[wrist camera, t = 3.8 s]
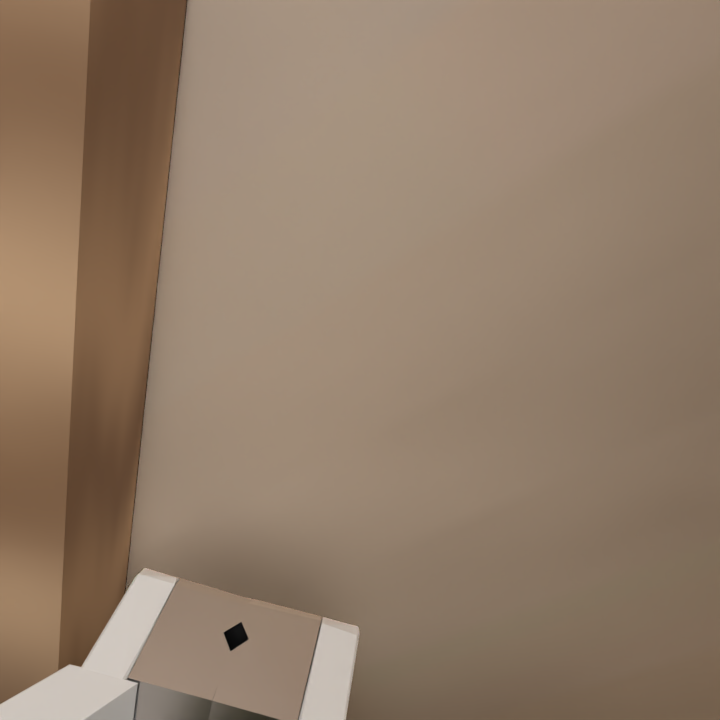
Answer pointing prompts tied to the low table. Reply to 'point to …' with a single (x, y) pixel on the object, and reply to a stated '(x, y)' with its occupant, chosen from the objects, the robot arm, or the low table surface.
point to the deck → (76, 307)
